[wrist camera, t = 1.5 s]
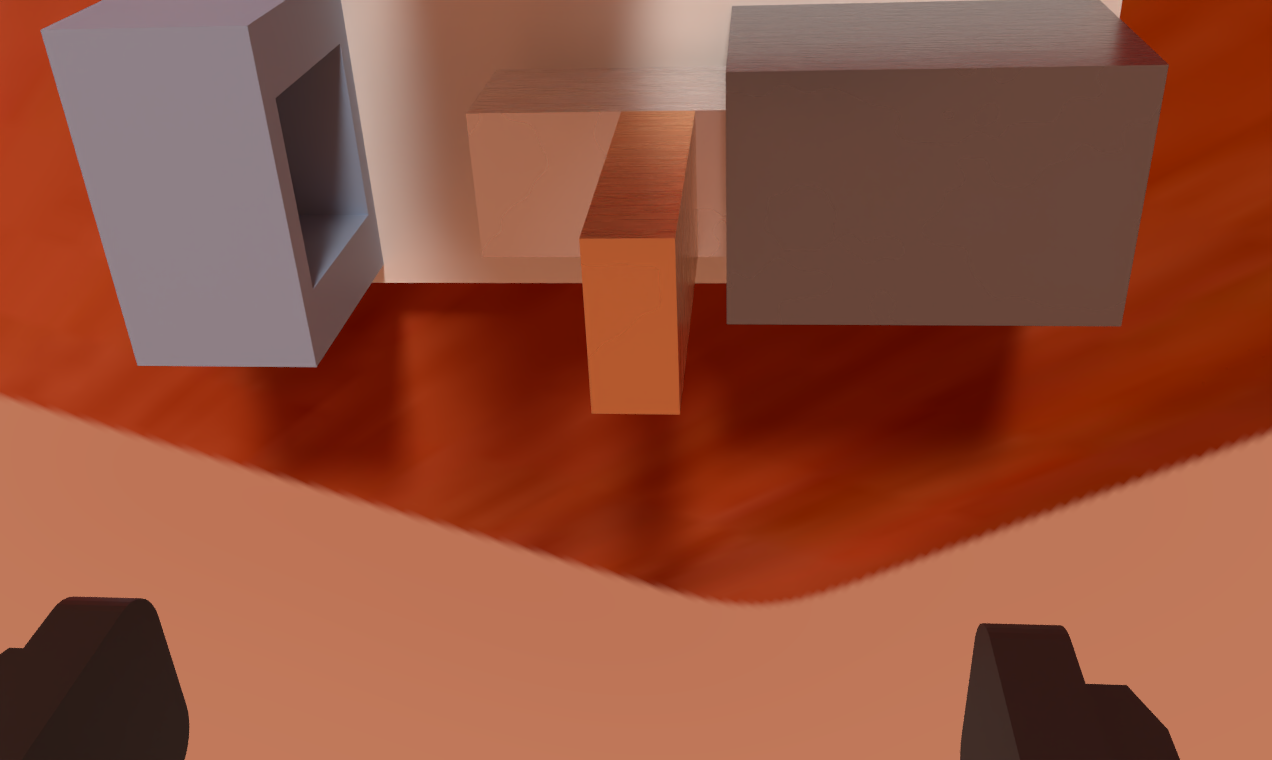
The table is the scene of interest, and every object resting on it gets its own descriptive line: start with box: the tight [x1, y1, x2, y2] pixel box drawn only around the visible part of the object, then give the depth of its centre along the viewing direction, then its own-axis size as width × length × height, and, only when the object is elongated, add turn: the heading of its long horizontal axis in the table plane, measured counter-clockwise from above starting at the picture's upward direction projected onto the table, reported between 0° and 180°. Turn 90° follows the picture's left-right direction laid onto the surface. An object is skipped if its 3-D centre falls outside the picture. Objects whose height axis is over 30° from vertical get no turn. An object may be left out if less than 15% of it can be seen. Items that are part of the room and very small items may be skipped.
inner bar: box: [466, 66, 726, 415], centre depth 22 cm, size 12×3×9 cm, turn 92°
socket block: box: [41, 0, 384, 367], centre depth 25 cm, size 4×7×5 cm, turn 2°
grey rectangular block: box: [726, 0, 1169, 326], centre depth 24 cm, size 8×5×5 cm, turn 92°
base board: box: [341, 0, 1122, 283], centre depth 27 cm, size 21×8×2 cm, turn 92°
